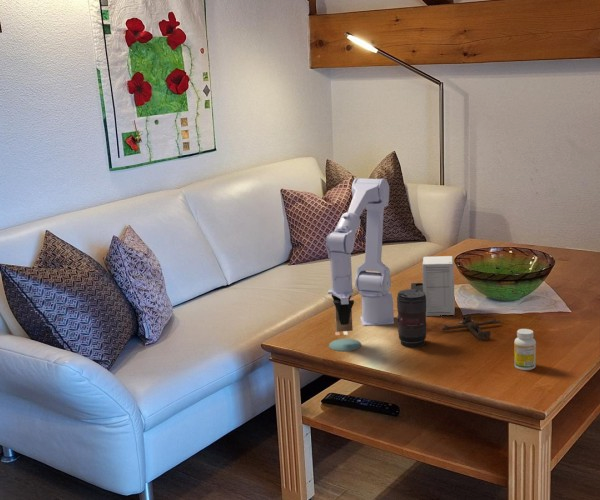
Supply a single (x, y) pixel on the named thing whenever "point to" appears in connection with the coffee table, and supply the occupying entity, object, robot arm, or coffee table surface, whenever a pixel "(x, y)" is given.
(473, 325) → the dark cross-shaped bracket
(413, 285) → the vhs tape
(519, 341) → the supplement bottle
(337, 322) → the walnut block
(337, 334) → the grey square plate
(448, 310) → the supplement box
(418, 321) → the camera lens
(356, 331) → the coffee table surface
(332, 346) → the coaster
